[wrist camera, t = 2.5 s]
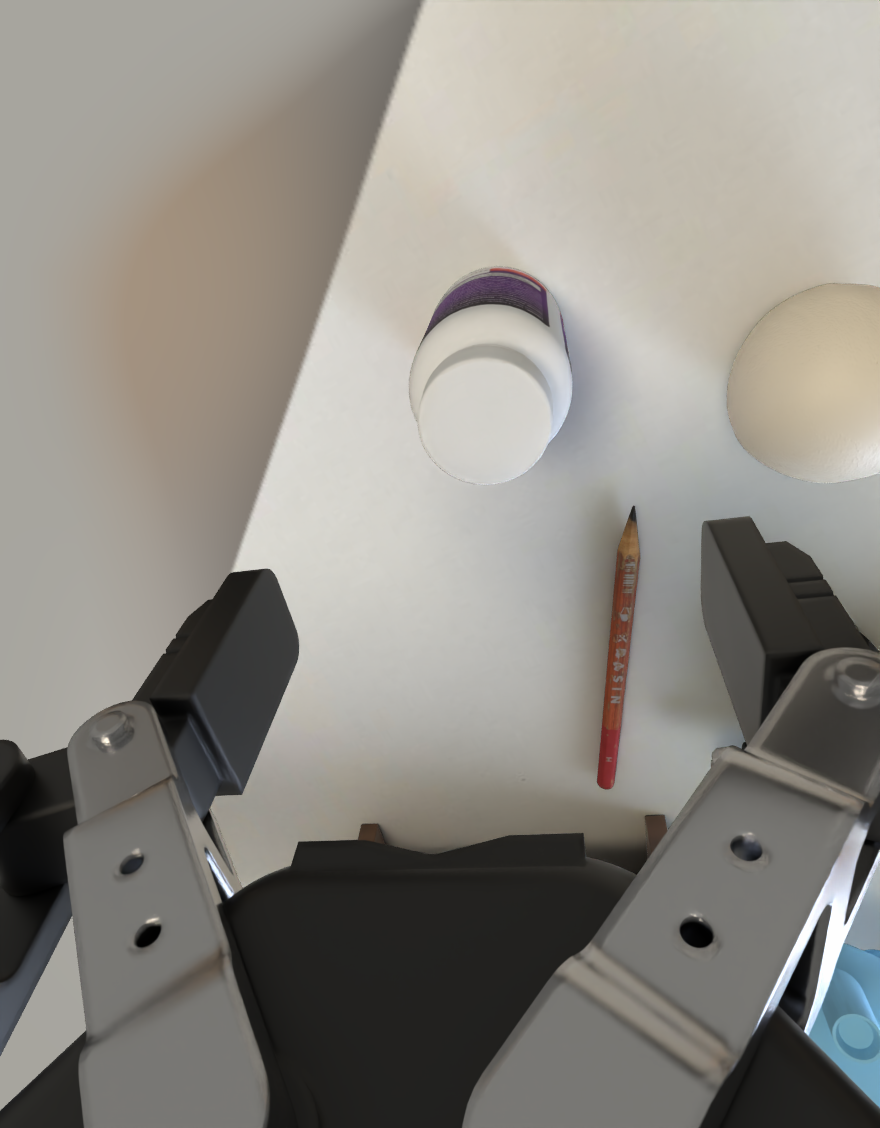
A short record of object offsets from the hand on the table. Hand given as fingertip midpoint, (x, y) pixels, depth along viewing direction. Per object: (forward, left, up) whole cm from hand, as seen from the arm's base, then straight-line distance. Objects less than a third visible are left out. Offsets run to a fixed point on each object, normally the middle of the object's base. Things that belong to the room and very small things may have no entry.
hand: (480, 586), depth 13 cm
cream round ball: (+12, -3, -18) cm, 22 cm away
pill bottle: (0, 0, -18) cm, 18 cm away
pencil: (+3, -18, -18) cm, 26 cm away
